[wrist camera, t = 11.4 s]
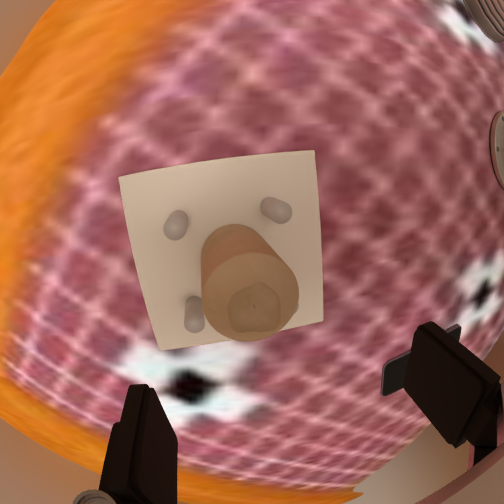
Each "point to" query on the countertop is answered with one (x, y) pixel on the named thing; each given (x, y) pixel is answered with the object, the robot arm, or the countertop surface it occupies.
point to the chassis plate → (210, 219)
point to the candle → (245, 285)
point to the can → (488, 17)
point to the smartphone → (403, 367)
